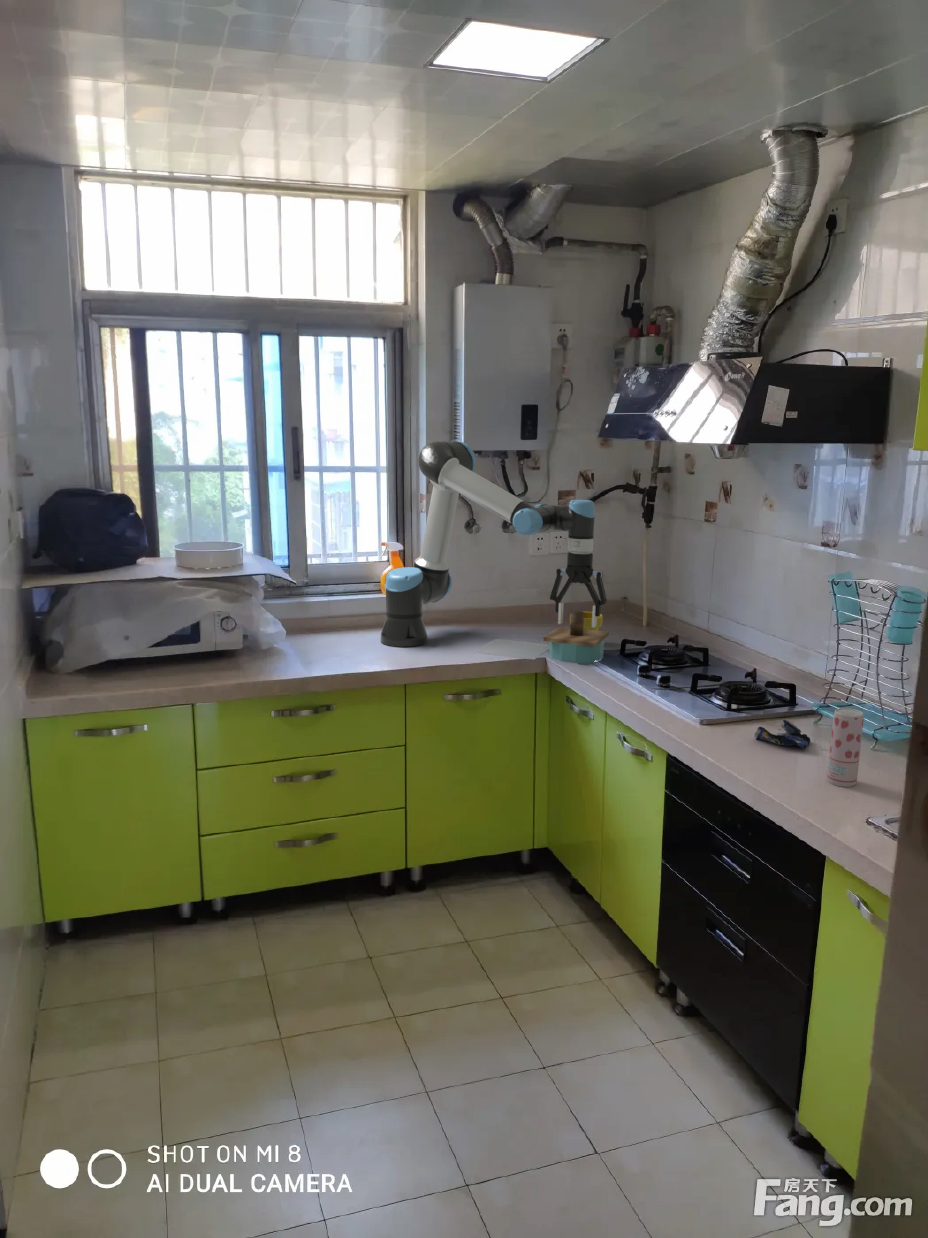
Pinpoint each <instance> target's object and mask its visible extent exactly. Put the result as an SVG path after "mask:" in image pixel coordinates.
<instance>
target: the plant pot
mask: <svg viewBox="0 0 928 1238" xmlns="http://www.w3.org/2000/svg"><path fill="white" fill-rule="evenodd" d="M583 612H584V628H583V629H587V630H597V631H600V628H601V627H602V626H603V618H604V617H603V614H601V613H600V616H597V625H596V627H594V628H593V627H592V611H586V610H585V611H584V610H583ZM570 621H571V613H570V615H569V622H570Z"/></svg>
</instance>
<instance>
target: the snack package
mask: <svg viewBox="0 0 928 1238" xmlns="http://www.w3.org/2000/svg"><path fill="white" fill-rule="evenodd" d="M774 723H777V722H776V721H775V722H774ZM780 727H781V728H782V729H783V731H785V732H783V733H781V732H780V733H779V732H778V733H775V734H774V733H771V732H770V731H768V730H767V729H766V728H765V727H763V726H758V727H757V729H756V731H755V733H754V735H753V737H754V738H755V740H761V741H762V740H763V741H767V742H770V743H773V744H776V745H780V746H788V747H789V746H790V747H791V746H798V747H799V748H802V749H803V750H805V749H806V748H807V747H808V746H809V744H810V743H811V738H810V737H809V736H808V735H807V734H805V733H802V731H801V729H800V728H799V727H797V726H796V725H795V724H793V723H792V722H790V721H789V720H787V719H784V718H782V719H781V721H780ZM778 731H781V729H780V728H778Z"/></svg>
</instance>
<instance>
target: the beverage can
mask: <svg viewBox="0 0 928 1238" xmlns="http://www.w3.org/2000/svg"><path fill="white" fill-rule="evenodd" d="M863 727H864V713H863V711H861V710H859V709H855V708H849V707H839V708H836V709H835V710H834V713H833V717H832V727H831V736H830V737H831V738H830V747H829V757H828V765H827V771H826V772H827V773H826V774H827V775H826V780H827V781H828V783H830V784H831V785H834V786H838V787H844V788H850V787H853V786H855V785H856V784H857V783H858V775H859V773H858V772H859V765H860V756H861V747H862V737H863Z"/></svg>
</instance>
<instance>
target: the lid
mask: <svg viewBox="0 0 928 1238" xmlns="http://www.w3.org/2000/svg"><path fill="white" fill-rule="evenodd" d="M583 611H584V610H583ZM583 611H582V610H571V611H570V614H571V621H570V620H569V625H570V626H569V627H567V626H558V627H555V629H553V630H552V631H550V632H549V633H548V634H546V635H544V636H543V638H542V639H543V642H547V643H549V642H556V643H566V644H575V645H584V646H593V647H596V646H597V645H598V644H599V643H600V642H601V641H603V640H604V641H605V639H606V638H608V637H609V634H610V633H609V631H605V630H599V631H597V630H587V629H583V628H584V612H583Z"/></svg>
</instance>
